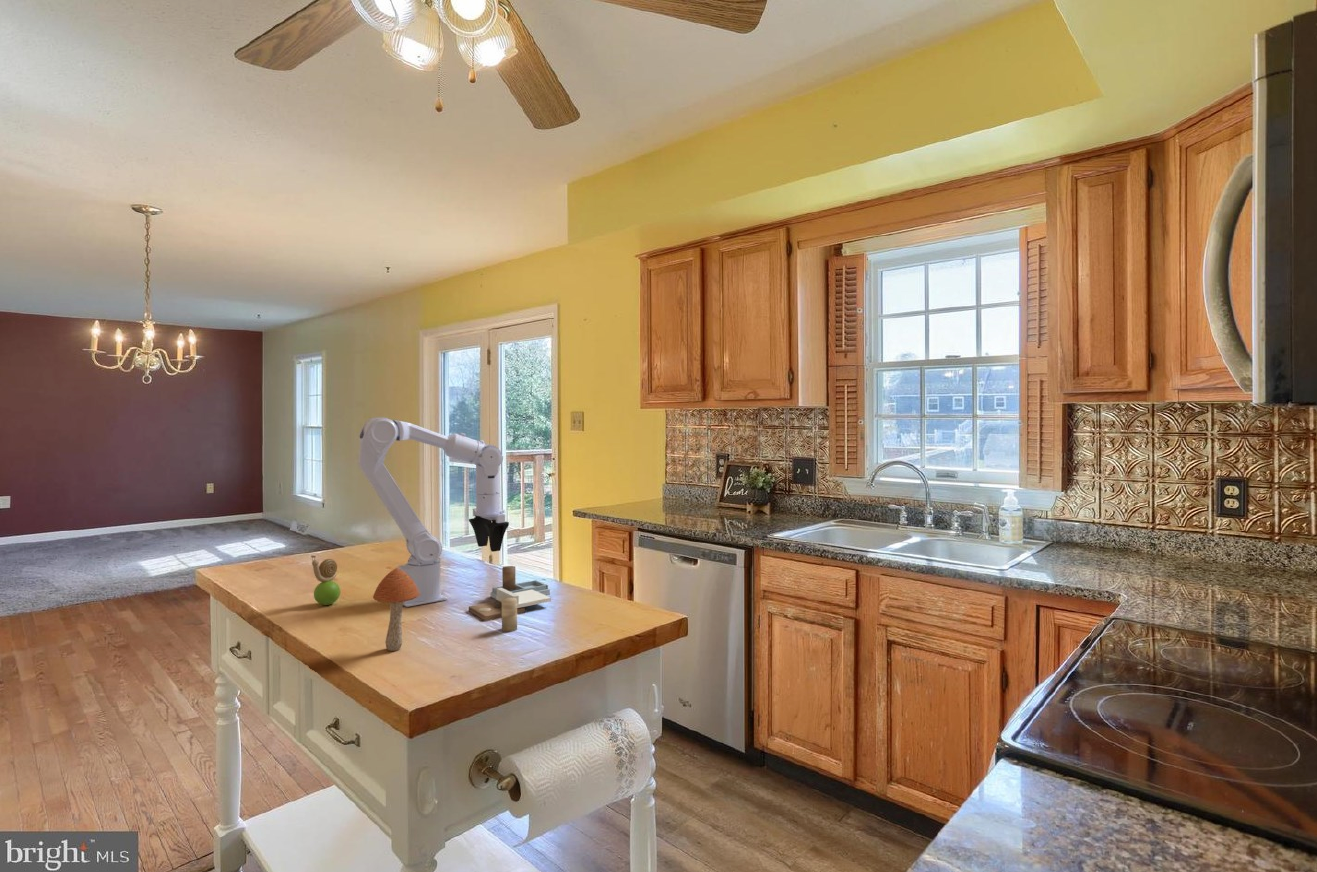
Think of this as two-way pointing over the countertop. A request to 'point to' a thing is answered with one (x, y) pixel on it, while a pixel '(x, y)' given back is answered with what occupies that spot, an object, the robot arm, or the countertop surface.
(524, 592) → the cover
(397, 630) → the mushroom
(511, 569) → the walnut peg
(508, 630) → the maple peg
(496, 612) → the board
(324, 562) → the snail figurine
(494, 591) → the socket board
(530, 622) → the countertop surface
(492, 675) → the countertop surface
